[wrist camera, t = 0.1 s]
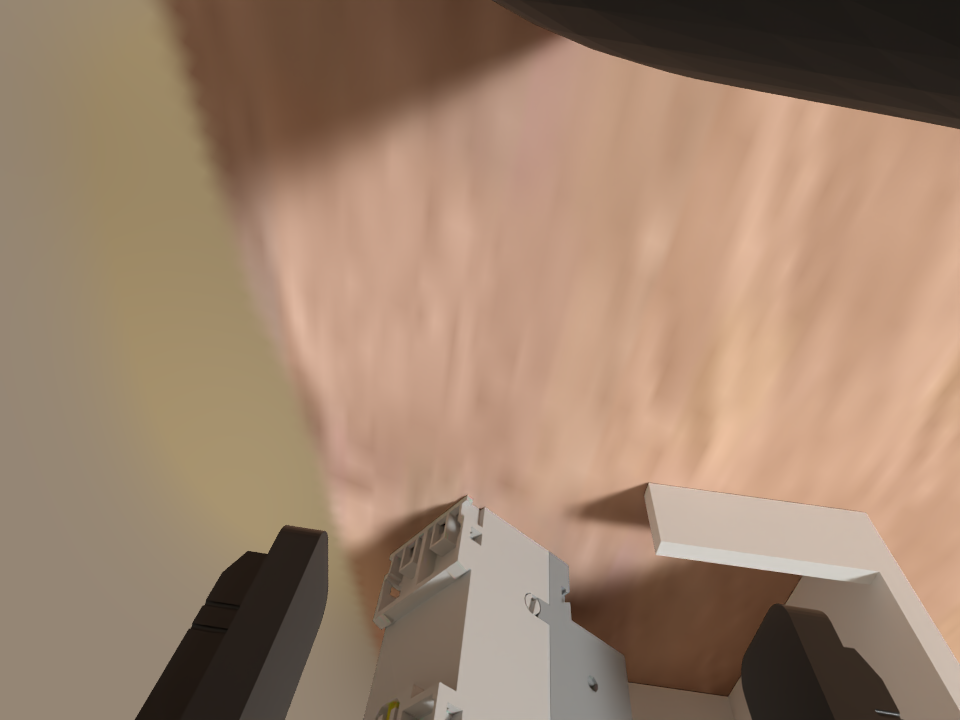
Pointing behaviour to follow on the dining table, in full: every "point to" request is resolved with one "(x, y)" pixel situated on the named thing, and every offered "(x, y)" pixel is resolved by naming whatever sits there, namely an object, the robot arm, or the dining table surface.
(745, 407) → the dining table surface
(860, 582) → the panel bay
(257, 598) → the robot arm
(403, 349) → the dining table surface
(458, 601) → the circuit breaker
